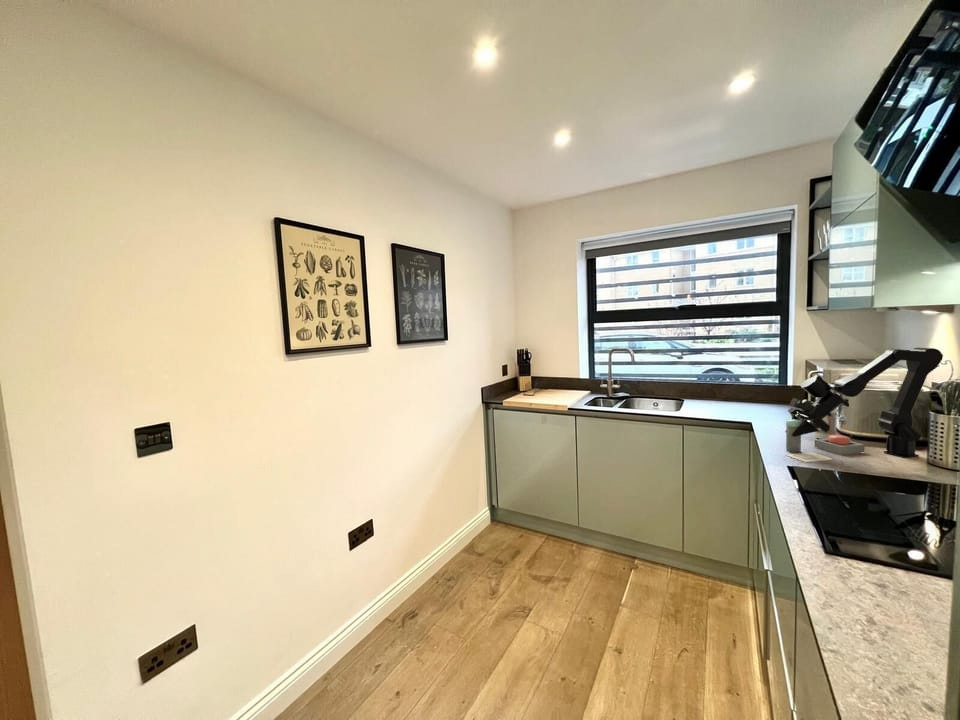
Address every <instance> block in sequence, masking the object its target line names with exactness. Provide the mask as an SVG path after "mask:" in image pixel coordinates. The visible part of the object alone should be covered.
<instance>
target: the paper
mask: <svg viewBox="0 0 960 720" xmlns="http://www.w3.org/2000/svg"><path fill="white" fill-rule="evenodd" d="M786 455H787V456H786V457H788V456H789V457H788V458H791V457H792V459H794V458H795V459H794V460H797V459H798V461H801V462H804V463H814V462H815V463H816V462H823V461H824V462H825V461H833V460H834V458H831V457H827V456H824V455H821V454H819V453H815V452H812V451H811V452H803V453H790V454H786Z"/></svg>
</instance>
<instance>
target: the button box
mask: <svg viewBox="0 0 960 720" xmlns="http://www.w3.org/2000/svg"><path fill="white" fill-rule="evenodd" d="M815 447H817V448H816V449H819V450H822V449H823V451H825V452H829V453H832V452H833V454H837V455H840V456H843V455H854V453H856V454H862V453H861V452H864V453H865V444H863V443H859V442H854V441H851V440H850V445H841V446H840V445H837V444H833V443H829V442H828V439H814V448H815Z"/></svg>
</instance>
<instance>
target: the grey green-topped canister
mask: <svg viewBox="0 0 960 720" xmlns="http://www.w3.org/2000/svg"><path fill="white" fill-rule="evenodd" d="M801 423H802V421H800V420H795V419H792V418H791V419H790V418H789V419H786V420H785V427H786V429H785V431H786V432H785V433H786V434H785V435H786V438H785V440H786V441H785V443H786V444H785V451H786V450H787V451H786V452H788V451H789V452H788V453H791V452H796V453H795V454H799V453H800V452H801V451H802V444H801V443H802V435H800V436H796V437H793V436H792V433H793V432H794V431H795V430H796V429H797V428H798V427H799V426H800V425H801Z"/></svg>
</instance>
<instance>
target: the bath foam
mask: <svg viewBox="0 0 960 720" xmlns="http://www.w3.org/2000/svg"><path fill="white" fill-rule="evenodd" d="M830 414H832V415H831V416H830V417H829V416H826V417H825V418H823V420H824V421H825V422H826V423H827V424H828V425H830V430H829V431H828V432H826V433H825V432H822V431H821V430H820V428H819V429H818V430H819V432H813V436H814V438H815V437H816V438H815V439H817V438H819V439H828V438H829V435H837V417H838V416H837V408H836V409H834V410H833V411H832V412H831V413H830ZM819 439H818V440H819Z"/></svg>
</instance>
